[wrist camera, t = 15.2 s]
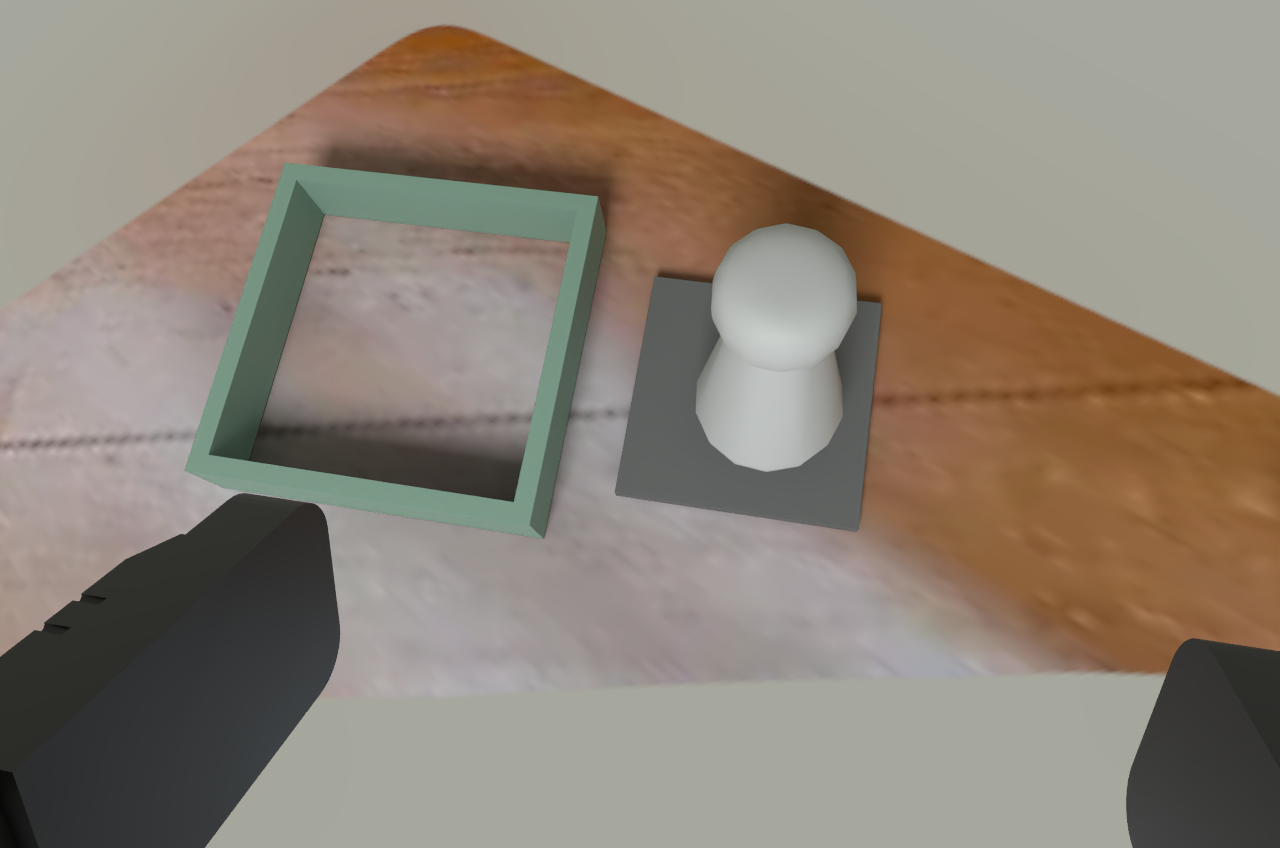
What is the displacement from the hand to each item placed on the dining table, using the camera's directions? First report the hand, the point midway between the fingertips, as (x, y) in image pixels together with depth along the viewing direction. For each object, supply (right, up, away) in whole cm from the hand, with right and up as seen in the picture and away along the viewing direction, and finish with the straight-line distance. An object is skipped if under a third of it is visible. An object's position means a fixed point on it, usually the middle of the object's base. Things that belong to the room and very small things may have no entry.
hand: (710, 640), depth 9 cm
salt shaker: (+5, +2, +29) cm, 30 cm away
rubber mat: (+4, +3, +30) cm, 31 cm away
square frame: (-11, +5, +32) cm, 34 cm away
